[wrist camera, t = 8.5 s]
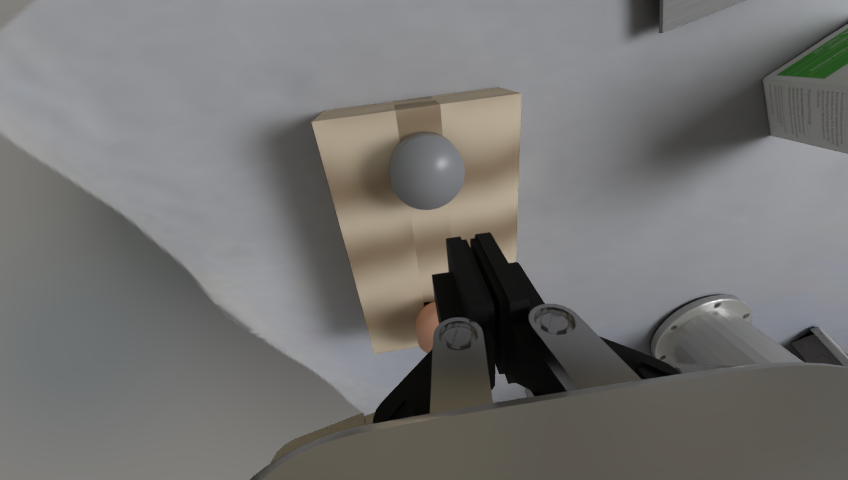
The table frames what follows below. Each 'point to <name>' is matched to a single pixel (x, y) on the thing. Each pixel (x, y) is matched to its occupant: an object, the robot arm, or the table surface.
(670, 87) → the table surface
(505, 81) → the table surface
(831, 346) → the electrical switch
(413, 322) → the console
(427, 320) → the terracotta button
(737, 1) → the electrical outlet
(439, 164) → the grey button
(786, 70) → the skincare box
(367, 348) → the table surface
